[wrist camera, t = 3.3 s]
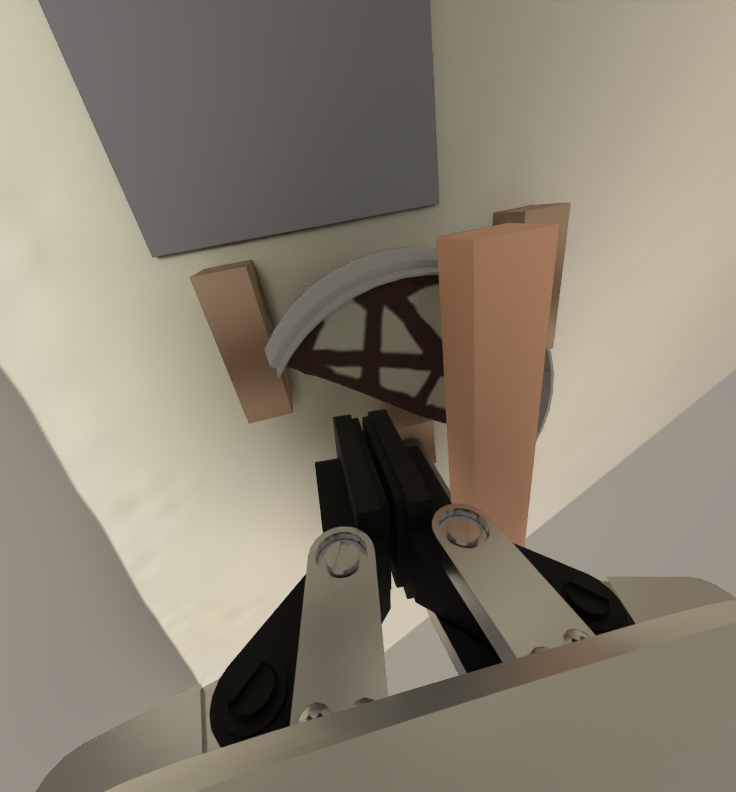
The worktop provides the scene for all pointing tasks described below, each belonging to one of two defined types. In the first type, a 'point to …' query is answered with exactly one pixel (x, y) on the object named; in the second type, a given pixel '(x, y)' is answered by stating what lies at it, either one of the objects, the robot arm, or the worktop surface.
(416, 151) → the mat
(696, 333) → the worktop surface
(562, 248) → the wooden blocks
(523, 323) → the tall wooden post
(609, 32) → the worktop surface
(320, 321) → the food container
